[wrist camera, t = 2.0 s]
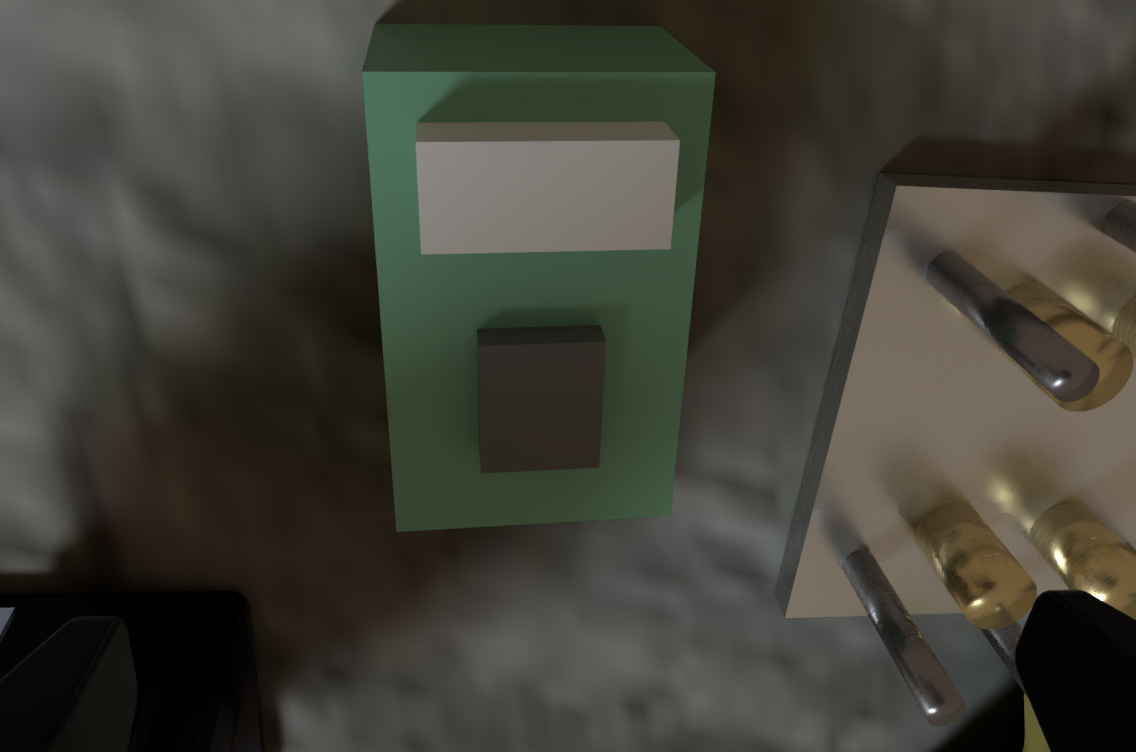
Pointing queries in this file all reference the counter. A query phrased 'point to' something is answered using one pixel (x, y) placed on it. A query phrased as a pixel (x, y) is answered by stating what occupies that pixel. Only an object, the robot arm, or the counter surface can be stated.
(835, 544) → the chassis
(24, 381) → the counter surface
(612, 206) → the green block
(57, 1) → the counter surface
